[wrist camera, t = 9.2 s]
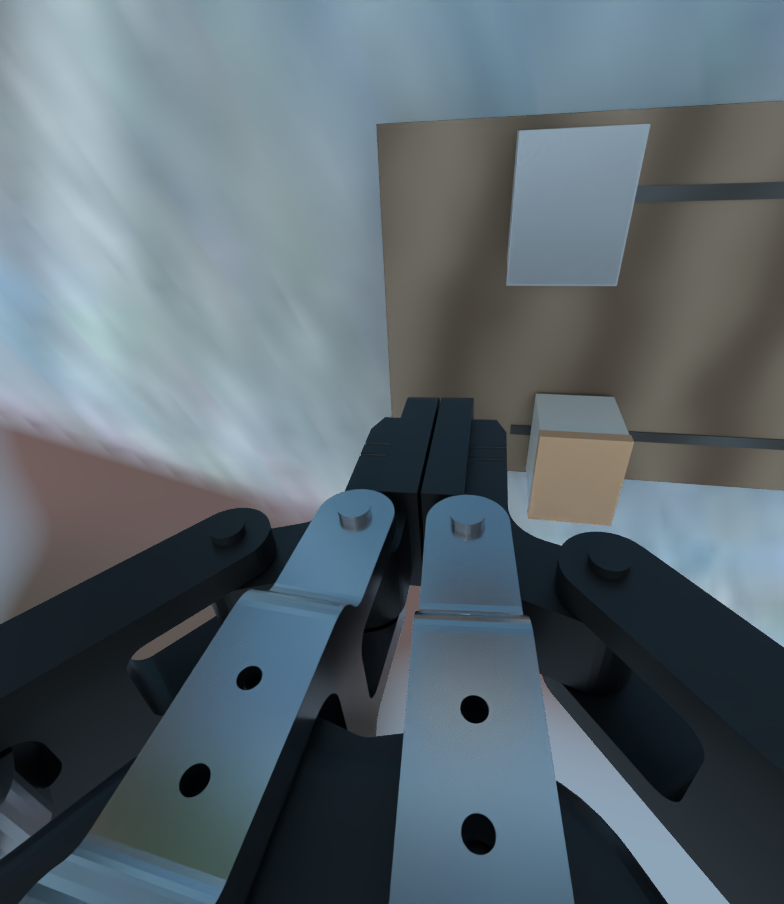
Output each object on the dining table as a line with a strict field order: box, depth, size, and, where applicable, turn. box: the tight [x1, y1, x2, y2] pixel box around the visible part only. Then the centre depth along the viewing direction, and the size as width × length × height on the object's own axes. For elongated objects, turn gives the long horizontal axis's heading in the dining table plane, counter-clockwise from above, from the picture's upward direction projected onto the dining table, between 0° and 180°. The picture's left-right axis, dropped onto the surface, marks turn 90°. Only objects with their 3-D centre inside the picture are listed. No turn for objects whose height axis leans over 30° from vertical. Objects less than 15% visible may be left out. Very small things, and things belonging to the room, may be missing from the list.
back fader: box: [526, 394, 634, 526], centre depth 25 cm, size 4×5×4 cm
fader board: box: [377, 101, 784, 491], centre depth 25 cm, size 24×18×2 cm
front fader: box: [506, 124, 650, 286], centre depth 19 cm, size 4×5×4 cm
